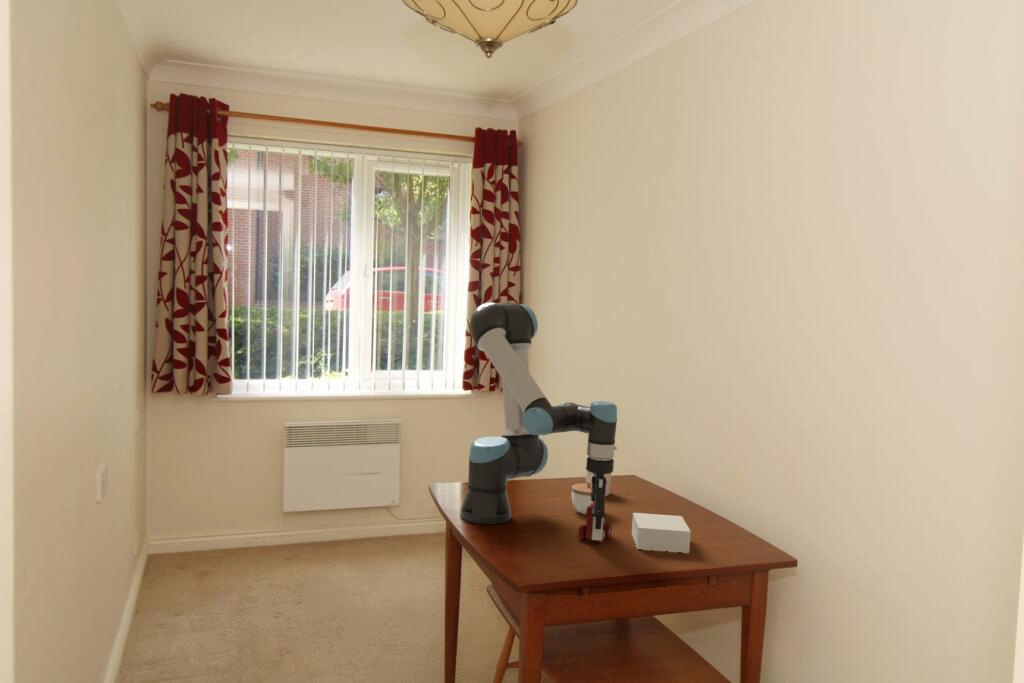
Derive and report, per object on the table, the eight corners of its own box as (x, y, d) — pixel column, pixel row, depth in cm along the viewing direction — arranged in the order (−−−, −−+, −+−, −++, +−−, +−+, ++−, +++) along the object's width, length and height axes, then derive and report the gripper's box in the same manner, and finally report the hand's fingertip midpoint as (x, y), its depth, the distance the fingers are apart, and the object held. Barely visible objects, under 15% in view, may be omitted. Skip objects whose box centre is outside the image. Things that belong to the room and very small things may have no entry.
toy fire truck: (614, 535, 215) (616, 499, 214) (598, 547, 204) (601, 509, 203) (591, 530, 218) (593, 495, 217) (575, 541, 207) (577, 504, 206)
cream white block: (637, 549, 203) (638, 527, 203) (631, 532, 217) (633, 512, 217) (689, 553, 202) (690, 531, 202) (680, 536, 216) (681, 516, 216)
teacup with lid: (589, 488, 265) (591, 455, 264) (614, 492, 261) (616, 459, 260) (576, 495, 254) (579, 461, 253) (602, 500, 250) (604, 465, 249)
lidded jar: (603, 508, 240) (605, 479, 240) (604, 518, 230) (606, 488, 229) (570, 505, 241) (572, 477, 241) (569, 515, 231) (571, 485, 230)
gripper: (617, 468, 197) (612, 547, 198) (610, 449, 221) (605, 519, 223) (589, 466, 197) (584, 545, 198) (585, 447, 222) (580, 517, 223)
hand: (595, 531), depth 211 cm, fingers open, 13 cm apart
